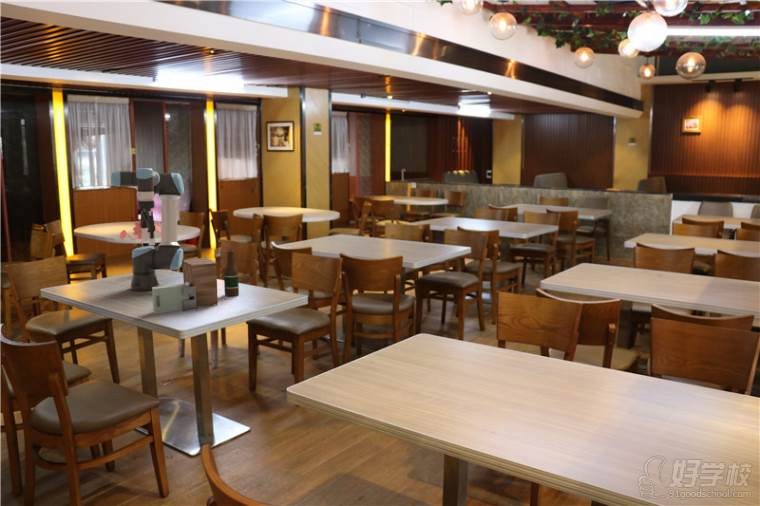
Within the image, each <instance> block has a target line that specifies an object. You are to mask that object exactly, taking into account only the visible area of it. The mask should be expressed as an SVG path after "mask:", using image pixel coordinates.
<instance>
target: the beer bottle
mask: <svg viewBox="0 0 760 506" xmlns="http://www.w3.org/2000/svg"><path fill="white" fill-rule="evenodd" d="M226 254H227V261H226V262H227V263H226V266H225V268H224V271H223V284H224V285H223V287H224V296H225V297H230V298H231V297H232V298H233V297H238V296H239V293H240V292H239V291H240V290H239V286H240V285H239V284H240V283H239V271H238V268H237V266H236V264H235V255H234V254H235V251H234V250H227V252H226Z"/></svg>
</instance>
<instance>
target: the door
mask: <svg viewBox="0 0 760 506" xmlns="http://www.w3.org/2000/svg"><path fill="white" fill-rule="evenodd" d="M182 287H189V282H185V284H184V283H180V284H179V283H178V284H172V285H171V284H170V285H162V286H161V285H159V287H152V290H151V292H152V293H151V294H152V296H151V297H152V312H153V313H154V314H163V313H171V312H179V311H183V300H190V294H186V295H183V288H182Z"/></svg>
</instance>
